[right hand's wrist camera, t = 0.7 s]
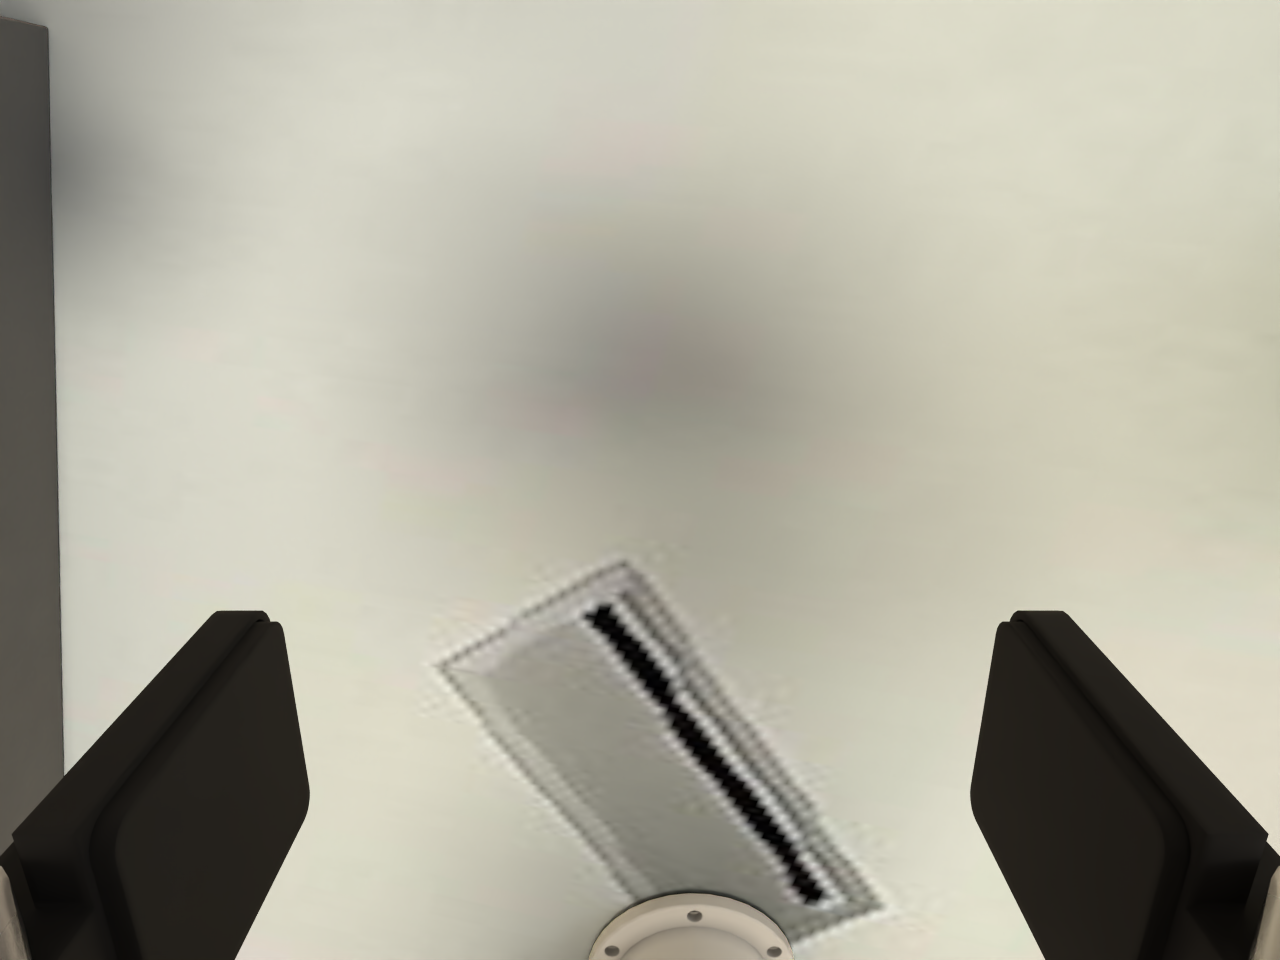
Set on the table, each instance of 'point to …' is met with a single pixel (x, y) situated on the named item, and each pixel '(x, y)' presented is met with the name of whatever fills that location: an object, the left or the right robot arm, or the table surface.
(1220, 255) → the table surface
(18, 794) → the post
